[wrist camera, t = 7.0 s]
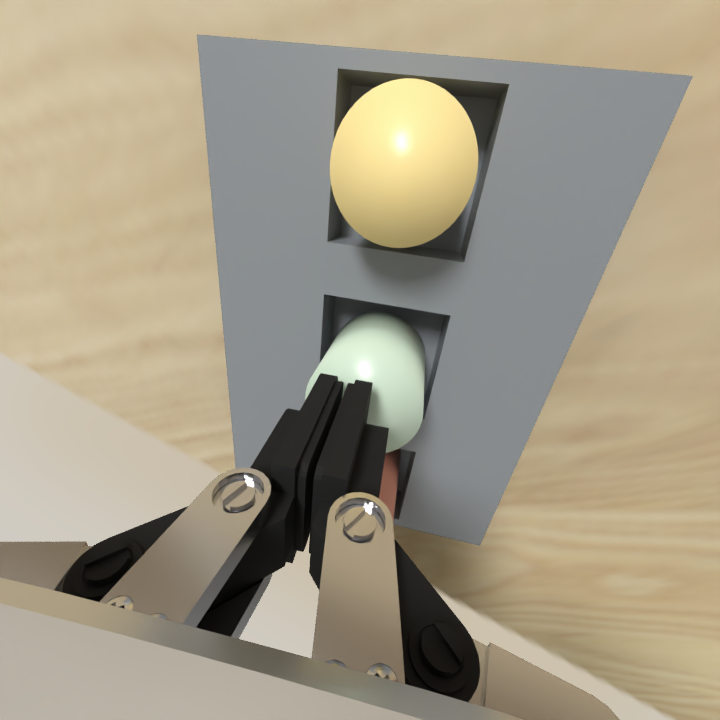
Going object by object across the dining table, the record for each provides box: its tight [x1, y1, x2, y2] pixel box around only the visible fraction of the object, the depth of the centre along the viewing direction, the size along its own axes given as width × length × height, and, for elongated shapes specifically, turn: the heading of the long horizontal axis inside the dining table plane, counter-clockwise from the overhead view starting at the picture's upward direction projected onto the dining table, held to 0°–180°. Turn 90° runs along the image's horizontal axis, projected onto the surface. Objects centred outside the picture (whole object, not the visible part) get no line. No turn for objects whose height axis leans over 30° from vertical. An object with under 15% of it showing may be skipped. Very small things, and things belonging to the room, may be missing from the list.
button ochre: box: [330, 78, 478, 248], centre depth 11 cm, size 4×4×4 cm
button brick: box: [379, 449, 401, 520], centre depth 18 cm, size 4×4×4 cm
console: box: [197, 35, 693, 546], centre depth 16 cm, size 14×20×3 cm
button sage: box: [305, 312, 426, 453], centre depth 13 cm, size 4×4×4 cm
